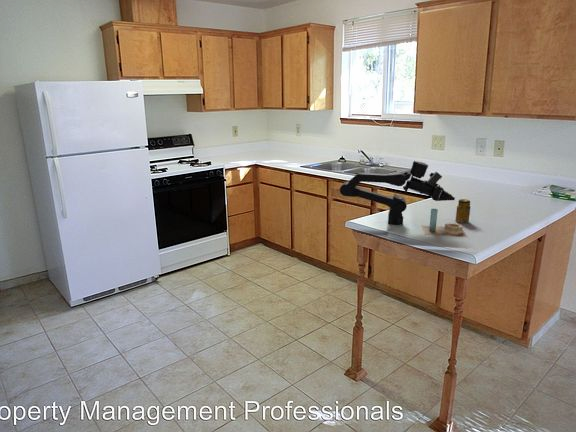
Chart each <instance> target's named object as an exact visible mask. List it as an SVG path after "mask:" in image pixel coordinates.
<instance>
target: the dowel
mask: <svg viewBox="0 0 576 432" xmlns="http://www.w3.org/2000/svg"><path fill="white" fill-rule="evenodd" d="M437 220H438V208H431V209H430V217H429V225H428V226H429V231H431V232H435V231H436V226H437Z"/></svg>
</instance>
